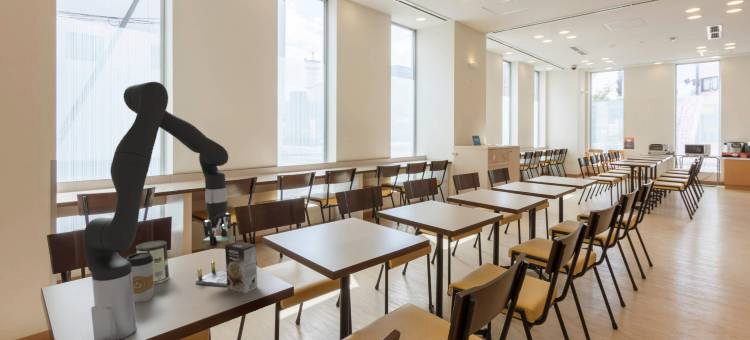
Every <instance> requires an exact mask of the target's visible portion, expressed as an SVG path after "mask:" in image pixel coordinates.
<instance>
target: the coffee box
mask: <svg viewBox="0 0 750 340" xmlns="http://www.w3.org/2000/svg"><path fill="white" fill-rule="evenodd" d="M224 251H225V252H224V253H225V269H226V270H225V271H227V288H226V289H227V290H231V291H234V292H235V291H236V292H239V293H242V294H246V293H249V292H251V291H253V290H254V289H255V290H256V288H258V273H257V272H258V270H257V266H258V265H257V244H254V243H249V242H242V241H235V243H231V244H228V245H226V246H225V249H224Z"/></svg>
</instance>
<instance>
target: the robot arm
mask: <svg viewBox="0 0 750 340" xmlns="http://www.w3.org/2000/svg"><path fill="white" fill-rule="evenodd" d="M123 92H124V93H123V101H124V103H125V105H126V107H127V108H128V109H129V110H130V111H132V112H134V113H135V114H136V116H135V119H134V121H133V123H132V125H131V126H130V127H129V129H128V131H126V133H125V134H124V135H123V136H122V138H121V140H120V141H119V143H118V144H117V146H116V148H115V151H114V155H113V158H112V161H111V164H110V169H109V170H110V177H111V180H112V183H113V186H114V189H115V192H116V197H117V198H116V207H115V211H114V215H113V217H95V218H94V219H91V220H90V221H89V222H88V223H87V225H86V226H85V228H84V231H83V248H84V254H85V259H86V266H87V268H88V270H89V272H90V273H91V281H92V291H93V302H94V303H93V304H94V305H93V306H91V309H90V310H91V311H90V312H91V321H92V330H93V331H92V332H93V340H121V339H122V340H123V339H125V338H127V337H129V336H131V335H133V334H134V333H135V332H136V331H137V320H136V319H137V318H136V309H135V308H136V307H135V306H136V305H135V302H134V293H133V280H132V268H131V263H130V262H129V261H128V260H126V257H123V256H122V255H120V254H119V253H123V252H126V251H128V250H129V249H130V248H131V247H132V245H133V243H134V241H135V239H136V236H137V230H138V223H139V217H140V209H141V208H140V207H141V202H142V197H143V193H144V192H143V191H144V187H145V183H146V180H147V176H148V172H149V168H150V166H151V165H150V164H151V160H152V156H153V155H152V154H153V151H154V147H155V144H156V140H157V136H158V132H159V130H160V129H162V130H163V131H165V132H167V134H170V135H171V136H173V137H174V138H175V139H177V141H179V142H180V143H181V144H183V146H185V147H187V149H189V150H190V151H191V152H193V153H197V154H198V155H199V156H198V161H199V164H200V168H201V170H202V174H203V176H204V184H205V185H204V186H205V192H204V194H205V195H204V196H205V212H206V214H207V215H208V219H207V220H203V221H202V225H203V230H204V232H203V233H204V236H205V237H210V246H211V247H215V246H217V240H216V236H217V232H218V231H219V230H220V236H228V232H229V230H230V229H231V228H232V227H231V226H232V213H229V212H228V209H229V207H228V206H229V205H228V192H227V188H226V175H225V173H224V172H222V171H220V170H219V168H218V167H221V166H224V165H226V164H227V163H228V161H229V152H228V151H227V150H226V148H225V147H224V146H222V145H221V144H219V143H218V142H216V141H214V140H213V139H211V138H209V137H207V136H206V135H205V134H204V133H203V132H202V131H201V130H199V129H198V128H197V127H196V126H195V125H193V124H191V123H190V122H188V121H186V120H185V119H182V118H180V117H178V116H176V115H174V114H172V113H171V112H169V111H167V107H168V105H169V94H168V90H167V89H166V87H165V86H164V84H162V83H160V82H159V81H153V80H151V81H145V82H140V83H136V84H133V85H129V86H128V87H127V88H126V89H125V90H124V91H123ZM159 128H160V129H159Z"/></svg>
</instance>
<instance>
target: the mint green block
mask: <svg viewBox="0 0 750 340" xmlns="http://www.w3.org/2000/svg"><path fill="white" fill-rule="evenodd" d="M216 240H217V246H215V247H211V246H210V237H209V236H206V237H205V238H204V239H202V249H204V250H205V249H210V250H211V249H212V250H215V249H216V250H219V249H220V250H222V249H223V250H225V246H226V245H228V244H231V243H236V236H235V235H227V236H221V235H216Z"/></svg>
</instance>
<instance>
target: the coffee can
mask: <svg viewBox="0 0 750 340" xmlns="http://www.w3.org/2000/svg"><path fill="white" fill-rule="evenodd" d="M167 244H168V242H167V241H166V240H150V241H145V242H142V243H138V244H137V245H136V246H135V249H136V253H144V252H146V253H151V256H152V257H153V285H157V284H160V283H163V282H165V281H167V280H170V272H169V261H168V260H169V259H168V247H167Z"/></svg>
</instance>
